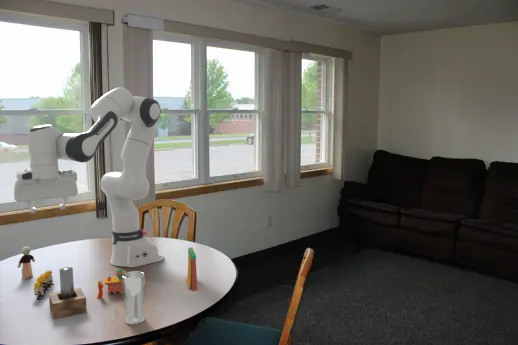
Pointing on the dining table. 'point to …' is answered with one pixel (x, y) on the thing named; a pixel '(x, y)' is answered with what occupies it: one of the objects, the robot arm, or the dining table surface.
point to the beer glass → (134, 296)
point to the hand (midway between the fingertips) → (48, 211)
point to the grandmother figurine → (26, 263)
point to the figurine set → (43, 284)
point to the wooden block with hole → (67, 304)
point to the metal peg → (66, 283)
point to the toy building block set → (116, 282)
